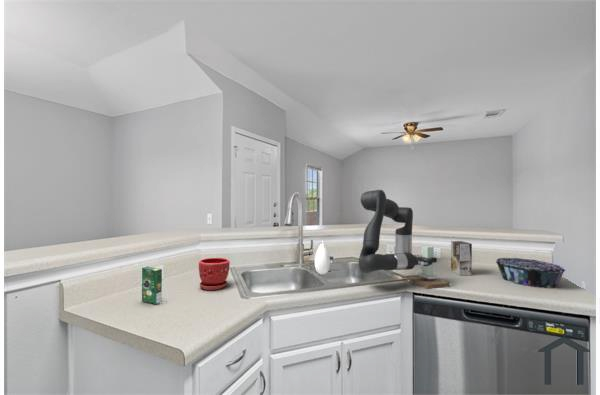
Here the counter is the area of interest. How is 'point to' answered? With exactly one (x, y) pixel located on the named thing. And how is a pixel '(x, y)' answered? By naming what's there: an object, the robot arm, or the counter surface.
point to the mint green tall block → (428, 270)
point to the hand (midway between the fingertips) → (432, 258)
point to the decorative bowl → (530, 272)
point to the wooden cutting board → (427, 282)
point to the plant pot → (213, 273)
